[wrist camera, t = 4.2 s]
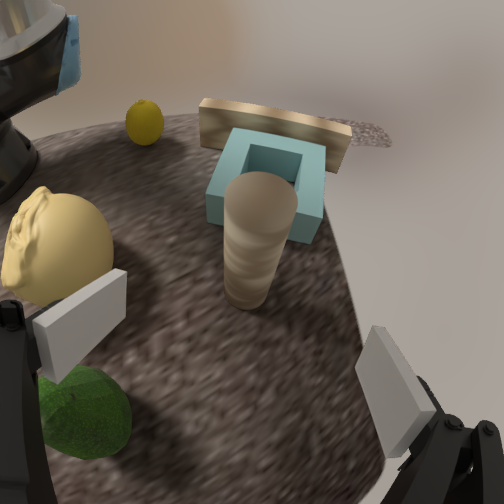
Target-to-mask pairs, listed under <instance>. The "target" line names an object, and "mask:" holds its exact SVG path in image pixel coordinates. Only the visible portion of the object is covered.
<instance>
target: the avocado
mask: <svg viewBox="0 0 504 504" xmlns="http://www.w3.org/2000/svg"><path fill="white" fill-rule="evenodd" d="M38 387H39V403H40V415H41V424H42V432H43V439H44V444H46V445H48V446H50V447H52V448H54V449H56V450H58V451H60V452H62V453H65V454H67V455H70V456H73V457H77V458H80V459H84V460H86V459H97V458H104V457H107V456H110V455H113V454H116V453H117V452H118V451H120V450H121V449H122V448H123V447H124V446H126V444H127V442H128V440H129V437H130V435H131V431H132V409H131V406H130V403H129V400H128V398H127V396H126V395H125V393H124V392H123V390H122V389H121V387H120V386H119V385H118V384H117V383H116V382H115V381H114V380H113V379H112V378H111V377H109V376H108V375H107V374H106V373H105V372H103V371H102V370H98V369H95V368H91V367H87V366H82V365H76V366H75V367H74V368H73V369H72V370H71V371H70V372H69V374H68V375H67V376H66V377H65V378H64V379H63V380H62V381H61V382H60V383H59V384H58V385H57V384H56V383H54V382H52V381H50V380H49V379H47V378H45V377H44V375H43V376H42V377H40V378H39V379H38Z"/></svg>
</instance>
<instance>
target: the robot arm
mask: <svg viewBox="0 0 504 504" xmlns="http://www.w3.org/2000/svg"><path fill="white" fill-rule="evenodd" d="M80 77H81V64H80V48H79V23H78V16H77V15H69V16H68V17H67V15H66V11H65V8H64V7H63V6H60V5H56V4H53V3H52V1H51V0H0V204H2V203H3V202H4V201H6V200H7V199H8V198H10V197H11V196H12V195H13V194H14V193H15V192H16V191H17V190H18V189H19V188H20V187H21V186H22V185H23V183H24V182H25V181H26V180H27V178H28V177H29V175H30V174H31V172H32V170H33V168H34V166H35V164H36V161H37V152H36V150H35V148H34V146H33V144H32V142H31V141H30V140H29V139H28V138H27V137H26V136H25V135H24V134H22V133H21V132H20V131H19V130H18V129H17V128H16V127H15V126H14V125H13V123H12V121H11V119H10V118H11V117H12V116H14V115H16V114H18V113H20V112H22V111H23V110H25V109H27V108H29V107H31V106H33V105H35V104H37V103H39V102H41V101H43V100H46V99H48V98H50V97H52V96H54V95H55V96H56V95H58V94H59V93H60V92H62V91H64V90H66V89H68V88H70V87H73V86H74V85H76V84H77V82H78V81H79V80H80ZM126 286H127V271H123V270H119V269H116V268H115V269H113V270H112V271H110V272H108V273H107V274H105V275H103V276H101V277H100V278H98V279H97V280H95V281H93V282H92V283H90V284H88V285H87V286H85V287H83V288H82V289H80V290H79V291H77V292H75V293H74V294H72V295H71V296H69V297H67V298H66V299H65V298H63V299H59V300H56V301H53V302H52V303H50V304H48V305H47V307H46V306H45V307H44V308H42V309H41V310H39V311H37V312H36V313H34V314H33V315H31V316H30V317H28V318H26V319H25V317H24V311H23V305H22V304H21V302H19V301H17V300H4V301H1V302H0V504H58V502H57V498H56V495H55V491H54V488H53V484H52V480H51V475H50V471H49V466H48V462H47V456H46V451H45V445H44V439H43V432H42V424H41V415H40V403H39V387H38V375H37V370H38V369H39V368H40V367H41V366H42V370H43V374H44V377H45V378H47V379H49V380H50V381H52V382H54V383H56V384H57V385H58V384H59V383H60V382H61V381H62V380H63V379H64V378H65V377H66V376H67V375H68V374H69V372H70V371H71V370H72V369H73V368H74V367H75V366H76V365H77V364H78V363H79V362H80V361H81V360H82V359H83V358H84V357H85V356H86V355H87V354H88V353H89V352H90V351H91V350H92V349H93V348H94V347H95V346H96V345H97V344H98V343H99V342H100V341H101V340H102V339H103V338H104V337H105V336H107V335H108V334H109V333H110V332H111V331H112V330H113V329H114V328H115V327H116V326H117V325H118V324H119V323H120V322H121V321H122V320H123V319H124V318H125V317H126ZM355 370H356V373H357V375H358V378H359V381H360V384H361V386H362V389H363V392H364V395H365V398H366V401H367V403H368V406H369V409H370V412H371V415H372V418H373V421H374V424H375V427H376V430H377V433H378V436H379V439H380V442H381V446H382V449H383V452H384V455H385V458H395V457H401V456H402V455H403V454H404V453H405V452H406V450H407V449H408V448H409V450H410V453H411V455H410V456H409V457H408V459H407V460H406V461H405V462H404V463H403V464H402V465H401V466H400V467H399V468H398V471H400V469H401V471H400V472H399V474H398V476H397V478H396V479H395V481H394V483H393V484H392V486H391V488H390V489H389V491H388V492H387V494H386V496H385V497H384V499H383V500H382V502H381V503H380V504H504V454H503V449H502V443H501V438H500V433H499V430H498V428H497V427H496V426H495V424H493V423H492V422H490V421H487V420H482V421H480V422H479V423H478V425H477V426H476V427H475V429H471V428H465V427H464V424H463V422H462V421H461V420H460V419H459V418H457V417H456V416H454V415H451V414H445V413H444V411H443V409H442V408H441V406H440V404H439V403H438V401H437V399H436V398H435V397H434V394H433V393H432V391H430V388H429V386H428V385H427V383H426V382H425V381H424V380H423V379H422V378H420V377H419V376H416V375H415V374H414V372H413V370H412V369H411V367H410V365H409V364H408V362H407V361H406V360H405V358H404V356H403V354H402V353H401V351H400V350H399V348H398V347H397V345H396V344H395V342H394V341H393V339H392V338H391V336H390V335H389V333H388V332H387V330H386V329H385V328H384V327H378V326H372V328H371V331H370V333H369V336H368V338H367V341H366V343H365V345H364V348H363V350H362V352H361V354H360V357H359V359H358V361H357V363H356V366H355ZM472 467H473V469H472V472H471V468H472Z"/></svg>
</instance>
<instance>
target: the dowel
mask: <svg viewBox="0 0 504 504" xmlns="http://www.w3.org/2000/svg"><path fill="white" fill-rule="evenodd" d="M297 207H298V197H297V194H296V192H295V190H294V189H293V187H292V186H291V185H290V184H289V183H288V182H287V181H286V180H284V179H283V178H281V177H279V176H277V175H275V174H272V173H268V172H260V171H255V172H248V173H244V174H241V175H239V176H237V177H236V178H234V179H233V180H232V181H231V182H230V183H229V184H228V186H227V188H226V190H225V194H224V294H225V297H226V299H227V300H228V302H229V303H230V304H231V305H232V306H234V307H235V308H238V309H241V310H252V309H255V308H257V307H259V306H260V305H261V304H262V303H263V302H264V301H265V299H266V297H267V294H268V291H269V289H270V286H271V283H272V280H273V277H274V275H275V272H276V269H277V266H278V263H279V260H280V257H281V254H282V252H283V249H284V246H285V243H286V240H287V237H288V234H289V231H290V228H291V225H292V222H293V219H294V216H295V213H296V210H297Z"/></svg>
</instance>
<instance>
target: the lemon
mask: <svg viewBox="0 0 504 504" xmlns="http://www.w3.org/2000/svg"><path fill="white" fill-rule="evenodd" d="M163 127H164V119H163V115H162V113H161V110H160V109H159V107H158V106H157V105H156V104H155V103H154V102H152V101H148V100H139V101H138V102H136V103H135V104H133V105H132V106H131V107H130V109H129V110H128V112H127V115H126V130H127V133H128V135H129V137H130V139H131V140H132V141H133V142H135V143H136V144H139V145H150V144H152V143H154V142H155V141H157V140H158V139H159V137H160V136H161V134H162V132H163Z"/></svg>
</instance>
